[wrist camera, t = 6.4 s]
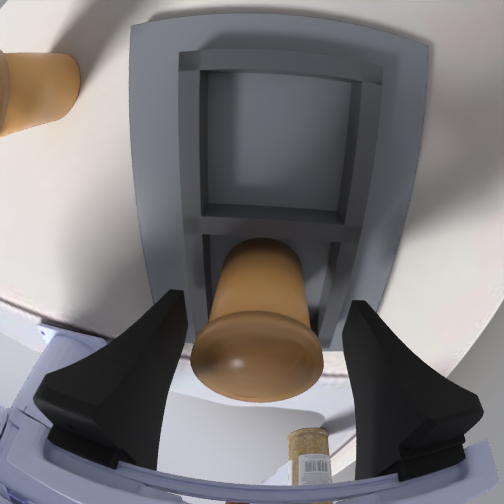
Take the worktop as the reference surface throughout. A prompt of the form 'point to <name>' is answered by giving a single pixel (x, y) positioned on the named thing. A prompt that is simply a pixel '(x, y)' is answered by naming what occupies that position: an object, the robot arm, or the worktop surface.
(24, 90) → the jaw peg
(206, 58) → the housing
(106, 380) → the robot arm
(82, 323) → the worktop surface
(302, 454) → the sprinkles bottle
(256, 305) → the jaw peg
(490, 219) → the worktop surface
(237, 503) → the coffee cup
